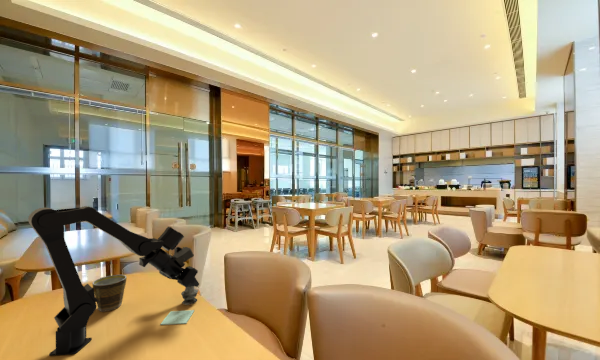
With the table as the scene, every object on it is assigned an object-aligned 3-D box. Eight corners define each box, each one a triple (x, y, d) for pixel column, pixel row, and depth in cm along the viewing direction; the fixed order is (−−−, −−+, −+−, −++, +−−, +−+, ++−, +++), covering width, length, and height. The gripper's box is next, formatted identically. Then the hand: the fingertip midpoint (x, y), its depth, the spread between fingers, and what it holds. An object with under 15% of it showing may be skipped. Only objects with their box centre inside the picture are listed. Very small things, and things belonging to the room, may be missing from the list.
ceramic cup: (118, 298, 100) (118, 272, 100) (132, 304, 95) (131, 277, 95) (76, 313, 89) (76, 284, 89) (89, 321, 84) (89, 290, 84)
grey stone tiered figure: (191, 306, 93) (191, 273, 93) (177, 304, 95) (177, 272, 95) (201, 298, 99) (201, 267, 99) (187, 297, 100) (187, 266, 100)
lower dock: (186, 323, 82) (186, 322, 82) (160, 325, 81) (160, 324, 81) (194, 310, 90) (194, 310, 90) (170, 312, 89) (170, 311, 89)
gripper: (192, 245, 88) (220, 269, 97) (167, 238, 100) (194, 259, 108) (169, 275, 82) (201, 297, 90) (145, 263, 94) (175, 284, 102)
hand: (193, 282), depth 98 cm, fingers open, 7 cm apart
